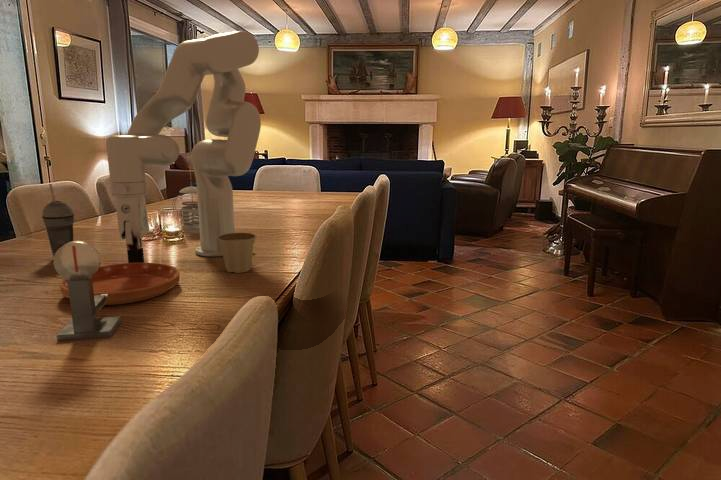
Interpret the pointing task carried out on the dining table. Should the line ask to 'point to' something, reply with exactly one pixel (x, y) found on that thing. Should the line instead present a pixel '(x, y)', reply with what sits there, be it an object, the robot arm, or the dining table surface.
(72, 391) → the dining table surface
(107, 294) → the plunger
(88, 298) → the indicator stand
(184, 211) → the french press
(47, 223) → the beverage cup
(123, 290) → the saucer
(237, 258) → the flower pot
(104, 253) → the dining table surface
